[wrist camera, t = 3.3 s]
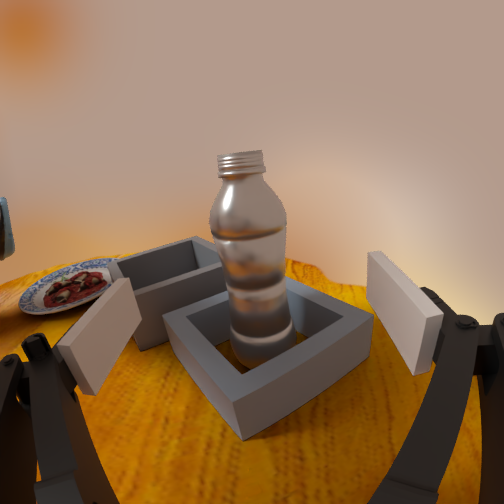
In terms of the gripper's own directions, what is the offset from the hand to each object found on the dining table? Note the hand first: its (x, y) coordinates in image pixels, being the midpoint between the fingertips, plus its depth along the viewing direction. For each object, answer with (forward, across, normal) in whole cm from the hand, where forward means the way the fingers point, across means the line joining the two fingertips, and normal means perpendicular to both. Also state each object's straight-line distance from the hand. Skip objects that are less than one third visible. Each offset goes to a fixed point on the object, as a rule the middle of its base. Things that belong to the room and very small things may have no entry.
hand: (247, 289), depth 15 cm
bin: (+23, -13, -13) cm, 29 cm away
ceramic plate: (+31, -38, -13) cm, 51 cm away
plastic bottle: (+10, 0, -13) cm, 17 cm away
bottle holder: (+10, 0, -13) cm, 16 cm away
